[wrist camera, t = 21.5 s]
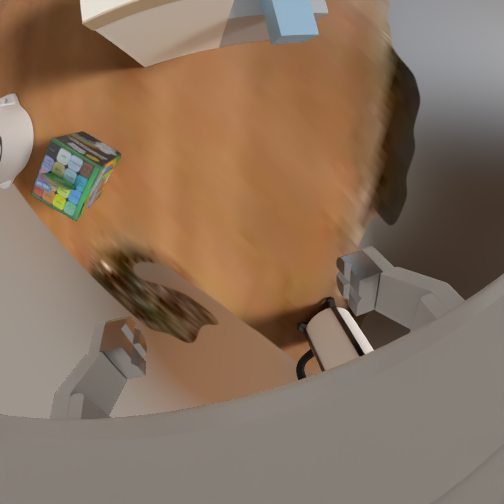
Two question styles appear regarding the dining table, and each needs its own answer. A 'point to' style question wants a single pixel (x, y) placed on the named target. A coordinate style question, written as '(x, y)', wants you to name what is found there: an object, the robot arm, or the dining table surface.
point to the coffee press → (332, 339)
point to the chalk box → (74, 173)
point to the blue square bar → (289, 20)
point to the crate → (255, 22)
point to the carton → (158, 26)
